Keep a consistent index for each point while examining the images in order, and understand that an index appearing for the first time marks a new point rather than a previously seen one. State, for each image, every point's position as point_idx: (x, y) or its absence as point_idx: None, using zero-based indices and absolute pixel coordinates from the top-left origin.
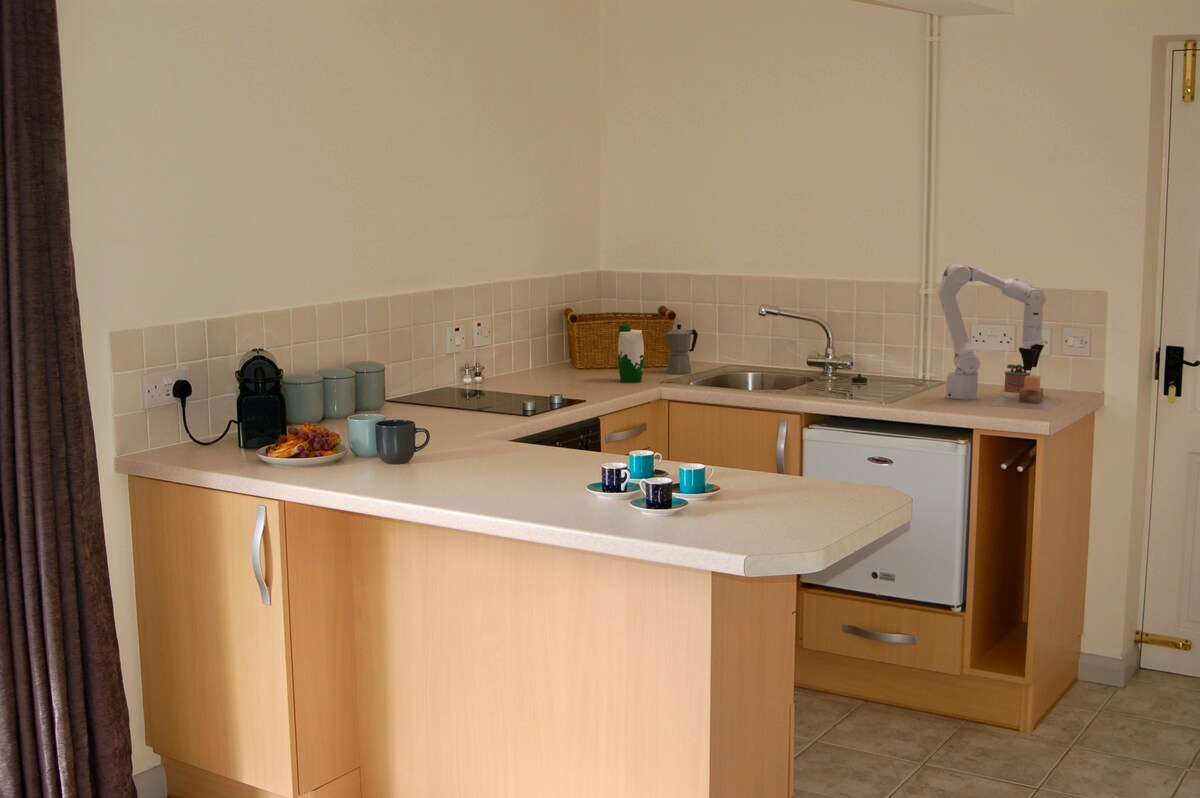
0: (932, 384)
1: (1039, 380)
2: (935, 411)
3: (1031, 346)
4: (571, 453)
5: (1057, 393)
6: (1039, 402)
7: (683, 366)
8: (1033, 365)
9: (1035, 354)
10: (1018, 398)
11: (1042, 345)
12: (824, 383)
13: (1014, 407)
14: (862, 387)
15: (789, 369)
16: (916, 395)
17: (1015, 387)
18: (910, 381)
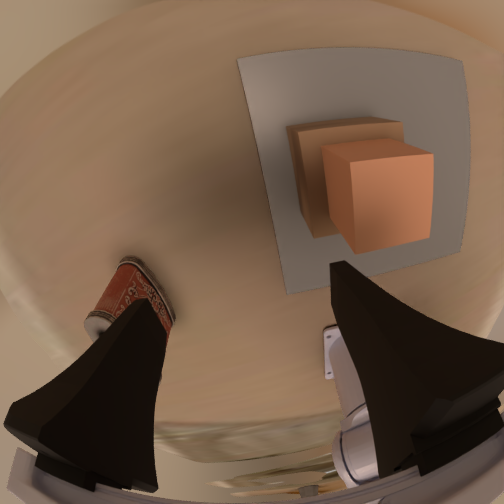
0: (191, 428)
1: (362, 152)
2: (488, 308)
3: (437, 468)
4: None
5: (32, 203)
6: (359, 117)
7: (314, 490)
8: (151, 321)
9: (412, 351)
10: (291, 234)
11: (38, 443)
12: (295, 464)
13: (468, 176)
14: (299, 450)
15: (229, 482)
16: (334, 408)
17: (156, 311)
18: (195, 443)
